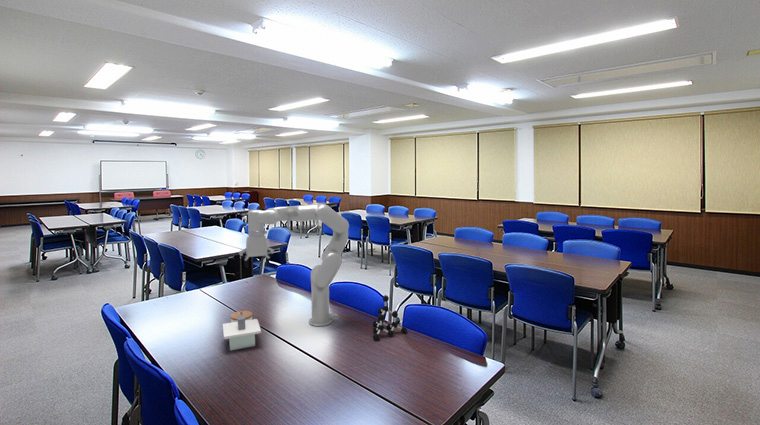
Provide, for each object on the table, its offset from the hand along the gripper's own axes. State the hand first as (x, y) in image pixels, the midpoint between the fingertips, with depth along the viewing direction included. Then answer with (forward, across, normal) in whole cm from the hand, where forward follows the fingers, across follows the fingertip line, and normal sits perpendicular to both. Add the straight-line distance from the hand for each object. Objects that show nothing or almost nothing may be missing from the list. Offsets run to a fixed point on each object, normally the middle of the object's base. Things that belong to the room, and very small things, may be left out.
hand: (257, 266), depth 192 cm
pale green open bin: (+33, +10, +14) cm, 37 cm away
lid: (+26, +9, +14) cm, 31 cm away
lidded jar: (+34, +8, -4) cm, 35 cm away
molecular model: (+34, -57, +32) cm, 73 cm away
